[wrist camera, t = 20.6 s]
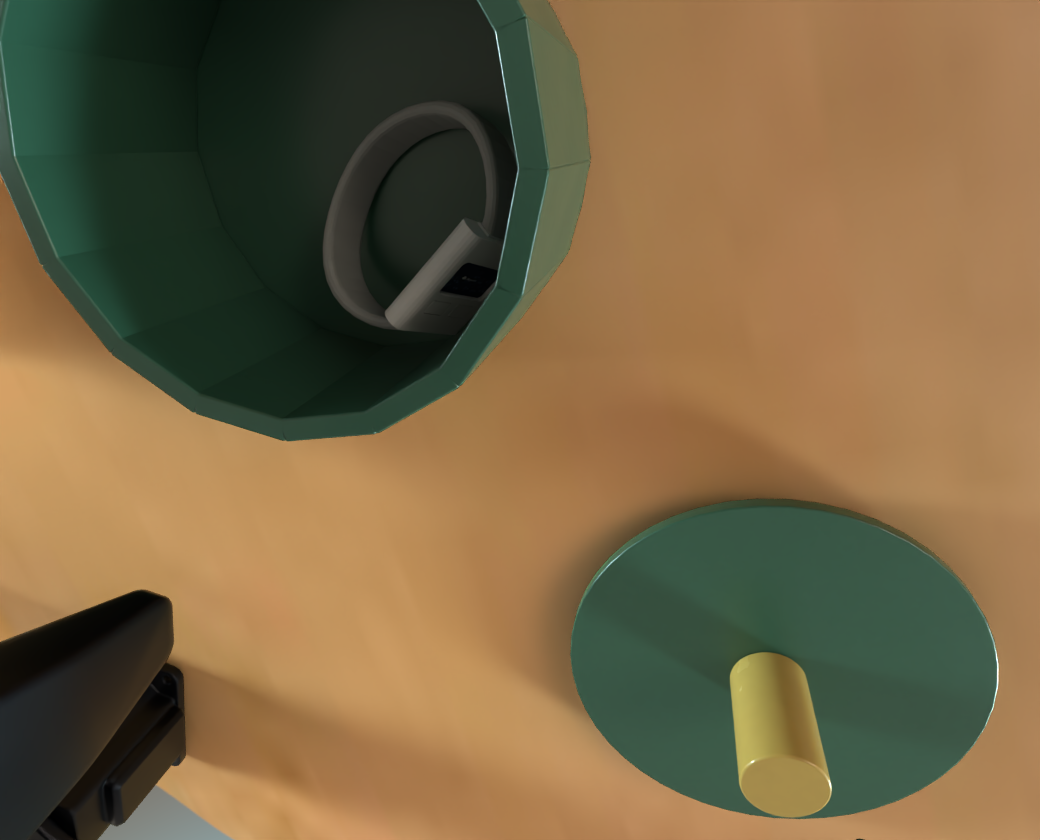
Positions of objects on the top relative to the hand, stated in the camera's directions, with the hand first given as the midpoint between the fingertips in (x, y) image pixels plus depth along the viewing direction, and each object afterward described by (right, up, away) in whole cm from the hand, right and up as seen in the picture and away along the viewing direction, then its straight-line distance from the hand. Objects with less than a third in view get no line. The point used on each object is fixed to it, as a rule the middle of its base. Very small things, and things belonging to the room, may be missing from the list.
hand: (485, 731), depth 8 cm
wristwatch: (-4, +11, +10) cm, 15 cm away
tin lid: (+9, -4, +14) cm, 17 cm away
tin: (-4, +12, +10) cm, 16 cm away
